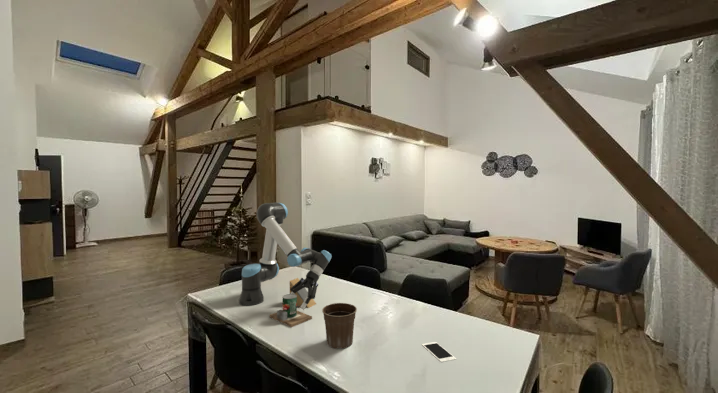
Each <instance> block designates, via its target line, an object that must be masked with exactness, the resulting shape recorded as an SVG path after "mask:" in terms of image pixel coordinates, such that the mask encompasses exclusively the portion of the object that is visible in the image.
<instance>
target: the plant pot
mask: <svg viewBox="0 0 718 393" xmlns="http://www.w3.org/2000/svg"><path fill="white" fill-rule="evenodd" d="M357 310H358V309H357V306H355V305H353V304H351V303H346V302H334V303H329V304H328V305H326V306H324V307H323V308H322V309H321V311H322V312H321V313H322V314H323V320H324V326H325V337H326V345H328V347H329V348H332V349H341V350H342V349H345V348H346V349H348V348H349V347H350V346H351V345H353V341H354V328H355V320H356V315H357V314H356V313H357Z"/></svg>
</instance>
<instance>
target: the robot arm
mask: <svg viewBox="0 0 718 393" xmlns="http://www.w3.org/2000/svg"><path fill="white" fill-rule="evenodd" d="M288 213H289V212H288V207H287V206H286V205H285V204H284V203H281V202H265V203H262V204H261V205H259V206H258V208H257V210H256V219H257V222H259V224H260V226H262V227H264V228H265V229H266V230H265V237H264V242H263V249H262V257H261V258H260V259H259V262H258V263H249V264H247V265H245V266H243V268H241V292H240V296H239V298H238V304H239V305H242V306H255V305H259V304H261V303H263V302H264V294H263V291H262V283H264V282H266V281H271V280H273V279H275V278H276V277H278V276H277V275H279V270H280V266H279V264H278V263H277V262H278V261H277V259H276V254H277V248H278V247H280V249H281V250H282V252H284V254H285V256H286V257H287V258H286V261H287V265H288V266H290V267H292V268H294V267H299V266H302V265H304V264H307V263H311V264H312V266H311V267H310V269H309V270H308V272H307V273H306V274H305V278H303V277H301V278H300V279H299V280H300V281H298V282H297V283H296V284H295V285H294V286H293V287H292V288H290V287H289V291H290V290H291V293H290V292H289V294H295V293H296V292H298V291H299V290H301V289H302V288H305V289H307V292H308V297H306V298H305V300H304V302H303V303H302V305H301V306H300V308H301V310H303V311H305V309H306V308H307V307H306V305H307V304H308V303H309V302H310V300H311V299H313V300H315V298H316V294H317V289H318V287H319V283H318V281H319V279H320V277H321V276H322V275H323V272H324V271H325V269H326V267H327V266H328V264H329V263H330V261H331V259H332V257H333V256H332V253H330V252H329V251H327V250H325V249H323V250H321V251H320V252H318V251H316V250H314V249H311V248H310V247H303V248H302V249H301V250H299V249H298V248H297V246H296V245H295V243H294V242H293V241H292V240H291V238H290V237H289V236H288V235H287V233H286V232H285V230H284V229H283V228H282V227H281V226H282V225H283V223H284V220H285V219H286V218H287V217H288Z"/></svg>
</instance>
